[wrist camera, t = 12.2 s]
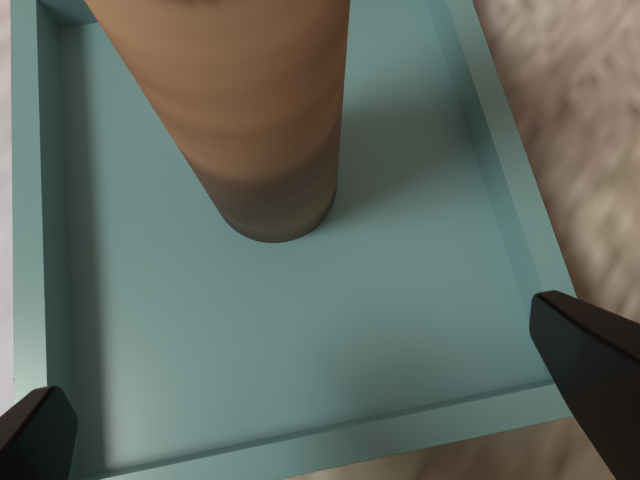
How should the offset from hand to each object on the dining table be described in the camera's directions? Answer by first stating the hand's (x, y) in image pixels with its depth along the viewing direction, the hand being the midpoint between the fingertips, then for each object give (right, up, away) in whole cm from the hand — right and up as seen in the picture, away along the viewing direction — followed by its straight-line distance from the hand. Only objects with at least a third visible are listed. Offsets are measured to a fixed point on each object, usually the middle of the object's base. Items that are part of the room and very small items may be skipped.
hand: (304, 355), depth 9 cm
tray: (-1, +4, +10) cm, 11 cm away
